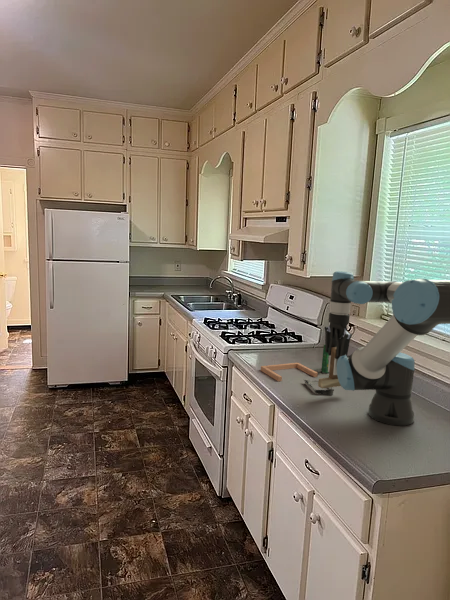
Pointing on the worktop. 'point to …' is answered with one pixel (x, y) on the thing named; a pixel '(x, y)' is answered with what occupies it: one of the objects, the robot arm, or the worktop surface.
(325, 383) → the wooden scraper
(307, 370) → the tile bay
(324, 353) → the coffee box
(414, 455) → the worktop surface
